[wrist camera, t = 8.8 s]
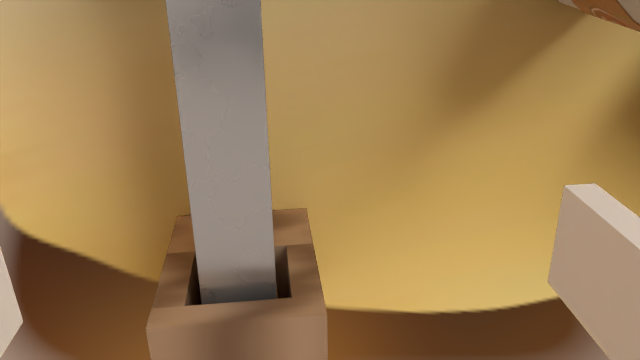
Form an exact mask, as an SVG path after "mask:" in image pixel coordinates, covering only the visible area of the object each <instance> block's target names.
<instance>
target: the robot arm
mask: <svg viewBox="0 0 640 360" xmlns="http://www.w3.org/2000/svg"><path fill="white" fill-rule="evenodd" d="M548 283H549V285H550V286H551V287H552V288H553V289H554V291H555V292H556V293H557V294H558V296H559V297H560V298H561V299H562V301H563V302H564V303H565V304H566V306H567V307H568V308H569V309H570V311H571V312H572V313H573V314H574V315H575V317H576V318H577V319H578V320H579V322H580V323H581V324H582V325H583V327H584V328H585V329H586V330H587V332H588V333H589V334H590V335H591V337H592V338H593V339H594V340H595V342H596V343H597V344H598V345H599V347H600V348H601V349H602V350H603V351H604V353H605V354H606V355H607V356H608V358H609V359H610V360H640V217H639V216H637V215H636V214H635V213H633V212H632V211H631V210H629V209H628V208H627V207H625V206H624V205H623V204H621V203H620V202H619V201H618V200H616V199H615V198H614V197H612V196H611V195H610V194H608V193H607V192H606V191H604V190H603V189H602V188H600V187H599V186H598V185H596V184H595V183H593V184H577V185H564V189H563V195H562V201H561V206H560V212H559V218H558V224H557V230H556V236H555V242H554V248H553V254H552V260H551V265H550V271H549V277H548ZM22 323H23V320H22V316H21V313H20V310H19V306H18V304H17V300H16V297H15V293H14V291H13V287H12V283H11V280H10V277H9V274H8V270H7V267H6V264H5V261H4V257H3V254H2V251H1V247H0V358H1V356H2V354H3V353H4V351H5V350H6V348H7V347H8V345H9V343H10V341H11V340H12V339H13V337H14V336H15V334H16V332H17V331H18V329H19V328H20V326H21V324H22Z"/></svg>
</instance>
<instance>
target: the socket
mask: <svg viewBox="0 0 640 360" xmlns="http://www.w3.org/2000/svg"><path fill="white" fill-rule="evenodd" d="M272 219H273V237H274V255H275V273H276V282H277V297H278V299H269V300H257V301H244V302H231V303H218V304H205V305H202V301H201V292H200V284H199V276H198V267H197V259H196V251H195V242H194V234H193V226H192V217H191V216H177V220H176V223H175V227H174V230H173V234H172V237H171V241H170V244H169V248H168V251H167V255H166V259H165V262H164V266H163V269H162V273H161V276H160V280H159V283H158V287H157V290H156V294H155V298H154V301H153V304H152V308H151V312H150V315H149V319H148V322H147V326H146V335H147V341H148V347H149V353H150V358H151V360H328V348H327V347H328V346H327V312H326V306H325V301H324V296H323V291H322V286H321V281H320V276H319V271H318V266H317V261H316V256H315V251H314V246H313V241H312V236H311V231H310V225H309V220H308V215H307V210H306V208H304V209H287V210H272Z"/></svg>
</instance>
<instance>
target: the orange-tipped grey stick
mask: <svg viewBox="0 0 640 360" xmlns="http://www.w3.org/2000/svg"><path fill="white" fill-rule="evenodd" d="M166 8H167V17H168V25H169V33H170V42H171V50H172V58H173V67H174V75H175V83H176V92H177V100H178V109H179V117H180V125H181V134H182V142H183V150H184V159H185V167H186V175H187V184H188V192H189V200H190V209H191V217H192V226H193V234H194V242H195V251H196V259H197V267H198V276H199V284H200V292H201V301H202V305H205V304H218V303H231V302H244V301H257V300H269V299H278V297H277V282H276V273H275V255H274V237H273V219H272V201H271V183H270V165H269V146H268V128H267V110H266V92H265V74H264V56H263V38H262V20H261V1H260V0H166Z"/></svg>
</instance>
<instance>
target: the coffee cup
mask: <svg viewBox="0 0 640 360" xmlns="http://www.w3.org/2000/svg"><path fill="white" fill-rule="evenodd" d="M558 1H559V2H560V3H563V4H566V5H568V6H571V7H574V8H577V9H580V10H581V11H582V12H584V13H587V14H590V15H593V16H596V17H598V18H601V19H604V20H607V21H610V22H613V23H616V24H619V25H622V26H625V27H628V28H631V29H634V30H637V31H639V32H640V0H558Z"/></svg>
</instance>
